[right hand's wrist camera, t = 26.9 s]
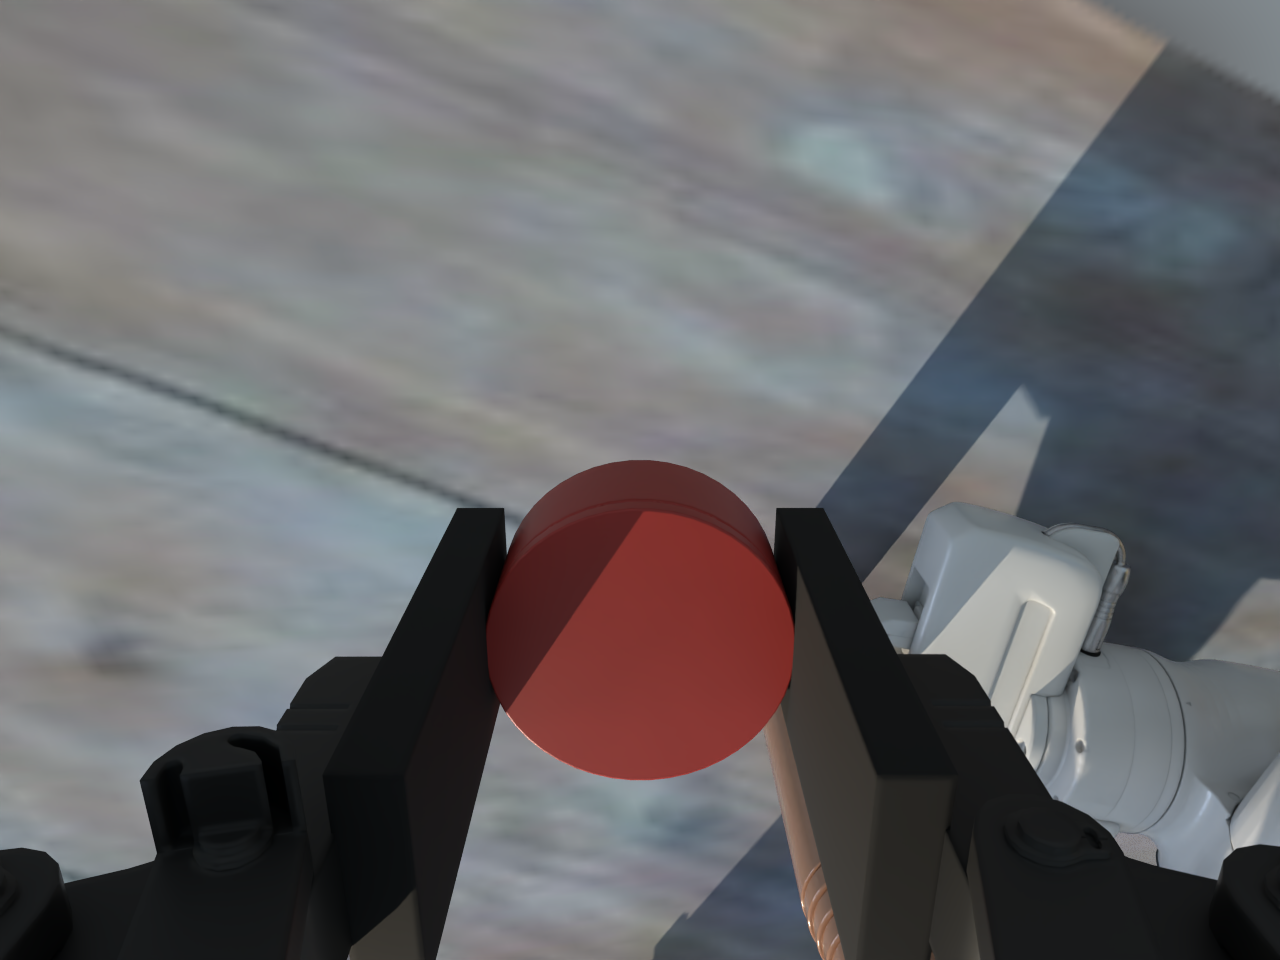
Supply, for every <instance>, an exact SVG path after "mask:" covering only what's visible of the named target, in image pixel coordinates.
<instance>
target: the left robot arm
mask: <svg viewBox="0 0 1280 960" xmlns="http://www.w3.org/2000/svg"><path fill="white" fill-rule="evenodd" d="M1115 555H1116V558H1115ZM1114 558H1115V559H1114ZM1125 561H1126V551H1125V547H1124V545H1123V543H1122V541H1121V540H1120V538H1119V537H1118V536H1117V535H1116V534H1115V533H1113V532H1111V531H1110V530H1108V529H1105V528H1101V527H1095V526H1089V525H1083V524H1077V523H1061V524H1057V525H1054V526H1052V527H1050V528H1046V527H1044V526H1041V525H1039V524H1036V523H1034V522H1031V521H1028V520H1025V519H1023V518H1019V517H1016V516H1013V515H1010V514H1007V513H1004V512H1000V511H996V510H993V509H989V508H985V507H981V506H977V505H972V504H968V503H962V502H952V503H949V504H947V505H945V506H943V507H940V508H938V509H936V510H934V511H932V512H931V513H929V515H928V517H927V519H926V522H925V525H924V528H923V531H922V535H921V538H920V541H919V544H918V547H917V551H916V554H915V557H914V560H913V563H912V566H911V570H910V573H909V576H908V579H907V582H906V585H905V589H904V592H903V595H902V598H901V600H896V599H889V598H883V597H879V598H876V599H873V600H870V601H871V603H872V605H873V607H874V609H875V611H876V613H877V615H878V617H879V619H880V621H881V623H882V625H883V627H884V629H885V631H886V633H887V635H888V637H889V639H890V641H891V643H892V645H893V647H894V649H895V651H896V653H897V654H946V655H947V656H949V657H950V658H951V659H953V660H954V661H956V662H957V663H958V664H960V665H961V666H962V667H964V668H965V669H966V670H968V671H969V672H970V673H972V674H973V675H974V676H975V677H976V678H977V680H978V681H979V683H980V685H981V686H982V688H983V689H984V691H985V693H986V694H987V696H988V697H989V699H990V700H991V706H994V707H995V708H996V710H997V712H998V713H999V715H1000V716H1001V718H1002V719H1003V721H1004V727H1005V728H1008V729H1009V730H1010V732H1011V734H1012V735H1013V737H1014V738H1015V740H1016V742H1017V743H1018V745H1019V746H1020V748H1021V749H1022V751H1023V753H1024V754H1025V756H1026V757H1027V759H1028V760H1029V762H1030V764H1031V765H1032V767H1033V768H1034V770H1035V772H1036V773H1037V775H1038V776H1039V778H1040V779H1041V781H1042V783H1043V784H1044V786H1045V787H1046V789H1047V791H1048V792H1049V794H1050V795H1051V797H1052V798H1053V799H1054V800H1058V801H1062V802H1064V803H1066V804H1068V805H1070V806H1072V807H1074V808H1076V809H1078V810H1080V811H1082V812H1084V813H1086V814H1088V815H1090V816H1091V817H1092V818H1093V819H1094V820H1096V821H1097V822H1098V823H1099V824H1100V825H1102V826H1103V827H1104V828H1105V829H1107V830H1108V831H1109V832H1110V833H1111V835H1112V836H1113V838H1115V837H1116V835H1117V834H1118V833H1119V832H1120V833H1127V834H1141V835H1145V836H1147V837H1148V838H1150V839H1151V840H1152V841H1153V842H1154V843H1155V845H1156V846H1157V848H1158V849H1157V851H1156V862H1157V866H1158V867H1163V868H1167V869H1172V870H1176V871H1180V872H1185V873H1189V874H1193V875H1198V876H1202V877H1206V878H1211V879H1215V880H1218V877H1219V874H1220V870H1221V867H1222V863H1223V860H1224V859H1225V858H1226V857H1227V856H1229V855H1230V854H1231V853H1232V852H1233V851H1234V850H1235V849H1236V848H1241V847H1246V846H1252V845H1257V844H1264V845H1272V846H1280V671H1276V670H1271V669H1266V668H1262V667H1256V666H1251V665H1246V664H1240V663H1234V662H1227V661H1221V660H1213V659H1201V660H1193V661H1187V662H1175V661H1171V660H1168V659H1166V658H1164V657H1162V656H1160V655H1158V654H1156V653H1154V652H1151V651H1148V650H1145V649H1142V648H1138V647H1131V646H1125V645H1119V644H1113V643H1107V642H1104V639H1105V637H1106V634H1107V632H1108V630H1109V627H1110V624H1111V621H1112V617H1113V614H1114V613H1113V612H1114V610H1115V606H1116V604H1117V601H1118V599H1119V597H1120V595H1121V594H1122V593H1123V592H1124V590H1125V588H1126V586H1127V583H1128V581H1129V577H1130V571H1131V567H1130V566H1129V565H1128V564H1126V563H1125Z"/></svg>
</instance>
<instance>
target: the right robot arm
mask: <svg viewBox="0 0 1280 960" xmlns="http://www.w3.org/2000/svg"><path fill="white" fill-rule="evenodd" d="M506 557H507V550H506V533H505V515H504V508H457V510H456V512H455V514H454V516H453V518H452V520H451V522H450V524H449V526H448V528H447V530H446V532H445V534H444V535H443V537H442V539H441V541H440V543H439V545H438V547H437V549H436V551H435V553H434V555H433V557H432V559H431V561H430V563H429V565H428V567H427V569H426V571H425V573H424V575H423V577H422V579H421V581H420V583H419V585H418V587H417V589H416V591H415V593H414V595H413V597H412V599H411V601H410V603H409V605H408V607H407V609H406V611H405V613H404V614H403V616H402V618H401V620H400V622H399V624H398V626H397V628H396V630H395V632H394V634H393V636H392V638H391V640H390V642H389V644H388V646H387V648H386V650H385V652H384V654H383V656H382V657H335V658H333V659H332V660H330V661H329V662H328V663H326V664H325V665H324V666H322V667H321V668H320V669H318V670H317V671H316V672H314V673H313V674H312V675H310V676H309V677H308V678H306V680H305V681H304V683H303V684H302V686H301V688H300V689H299V691H298V692H297V694H296V696H295V697H294V699H293V700H292V702H291V703H290V709H287V710H286V711H285V713H284V715H283V716H282V718H281V719H280V721H279V723H278V724H277V730H276V731H275V730H271V729H267V728H264V727H260V726H251V727H230V728H225V729H221V730H217V731H212V732H208V733H204V734H202V735H199V736H197V737H195V738H192V739H190V740H188V741H186V742H183V743H181V744H179V745H176V746H175V747H174V748H172V749H171V750H169V751H168V752H167V753H165V754H164V755H163V756H161V757H160V758H158V759H157V760H156V761H154V762H153V763H152V765H151V766H150V767H149V769H148V770H147V771H146V773H145V774H144V775H143V777H142V778H141V779H140V784H141V788H142V792H143V797H144V801H145V805H146V809H147V813H148V817H149V822H150V826H151V830H152V834H153V838H154V842H155V847H156V851H157V855H156V858H155V860H154V861H152V862H149V863H146V864H142V865H139V866H136V867H132V868H129V869H125V870H121V871H116V872H112V873H108V874H103V875H99V876H95V877H90V878H86V879H82V880H77V881H73V882H69V883H64V881H63V878H62V874H61V871H60V868H59V864H58V863H57V862H56V861H55V860H54V859H53V858H51V857H50V856H49V855H48V854H47V853H46V852H43V851H37V850H32V849H27V848H15V849H7V850H0V960H347V958H348V955H350V960H436V956H437V952H438V948H439V944H440V940H441V937H442V933H443V929H444V925H445V921H446V917H447V913H448V909H449V905H450V901H451V897H452V893H453V889H454V885H455V881H456V877H457V873H458V869H459V865H460V861H461V857H462V853H463V849H464V845H465V841H466V837H467V833H468V829H469V825H470V821H471V817H472V813H473V809H474V805H475V801H476V797H477V793H478V789H479V785H480V781H481V777H482V773H483V769H484V765H485V761H486V757H487V754H488V750H489V746H490V742H491V738H492V734H493V730H494V726H495V722H496V718H497V714H498V710H499V706H500V702H499V700H498V698H497V696H496V694H495V692H494V689H493V687H492V684H491V681H490V679H489V669H488V655H487V640H486V622H487V618H488V613H489V609H490V606H491V603H492V600H493V597H494V593H495V590H496V587H497V584H498V581H499V578H500V575H501V572H502V569H503V566H504V563H505V560H506ZM774 558H775V561H776V564H777V567H778V570H779V573H780V576H781V579H782V582H783V585H784V588H785V591H786V594H787V598H788V600H789V604H790V607H791V610H792V615H793V619H794V623H795V633H794V649H793V664H792V676H791V680H790V683H789V686H788V688H787V691H786V694H785V696H784V698H783V699H782V701H781V703H780V704H781V708H782V711H783V715H784V719H785V723H786V727H787V731H788V735H789V739H790V743H791V747H792V751H793V755H794V759H795V763H796V767H797V771H798V775H799V779H800V783H801V787H802V791H803V795H804V799H805V803H806V807H807V811H808V815H809V819H810V823H811V827H812V831H813V835H814V839H815V843H816V847H817V851H818V855H819V859H820V863H821V867H822V871H823V875H824V879H825V883H826V886H827V890H828V894H829V898H830V902H831V906H832V910H833V914H834V918H835V922H836V926H837V930H838V934H839V938H840V942H841V946H842V950H843V954H844V958H845V960H930V959H931V952H933V954H934V957H935V960H1280V846H1272V845H1264V844H1257V845H1252V846H1246V847H1241V848H1236V849H1235V850H1234V851H1233V852H1232V853H1231V854H1230V855H1229V856H1227V857H1226V858H1225V859H1224V860H1223V863H1222V867H1221V870H1220V874H1219V877H1218V880H1215V879H1211V878H1206V877H1202V876H1198V875H1193V874H1189V873H1185V872H1180V871H1176V870H1172V869H1167V868H1163V867H1158V866H1154V865H1151V864H1147V863H1144V862H1141V861H1137V860H1134V859H1131V858H1128V857H1126V856H1124V853H1123V851H1122V850H1121V848H1120V847H1119V845H1118V844H1117V842H1116V841H1115V839H1114V838H1113V836H1112V835H1111V833H1110V832H1109V831H1108V830H1107V829H1105V828H1104V827H1103V826H1102V825H1100V824H1099V823H1098V822H1097V821H1096V820H1094V819H1093V818H1092V817H1091V816H1090V815H1088V814H1086V813H1084V812H1082V811H1080V810H1078V809H1076V808H1074V807H1072V806H1070V805H1068V804H1066V803H1064V802H1062V801H1058V800H1054V799H1053V798H1052V797H1051V795H1050V794H1049V792H1048V791H1047V789H1046V787H1045V786H1044V784H1043V783H1042V781H1041V779H1040V778H1039V776H1038V775H1037V773H1036V772H1035V770H1034V768H1033V767H1032V765H1031V764H1030V762H1029V760H1028V759H1027V757H1026V756H1025V754H1024V753H1023V751H1022V749H1021V748H1020V746H1019V745H1018V743H1017V742H1016V740H1015V738H1014V737H1013V735H1012V734H1011V732H1010V730H1009V729H1008V728H1005V727H1004V721H1003V719H1002V718H1001V716H1000V715H999V713H998V712H997V710H996V708H995V707H994V706H991V700H990V699H989V697H988V696H987V694H986V693H985V691H984V689H983V688H982V686H981V685H980V683H979V681H978V680H977V678H976V677H975V676H974V675H973V674H972V673H970V672H969V671H968V670H966V669H965V668H964V667H962V666H961V665H960V664H958V663H957V662H956V661H954V660H953V659H951V658H950V657H949V656H947V655H946V654H897V653H896V651H895V649H894V647H893V645H892V643H891V641H890V639H889V637H888V635H887V633H886V631H885V629H884V627H883V625H882V623H881V621H880V619H879V617H878V615H877V613H876V611H875V609H874V607H873V605H872V603H871V601H870V599H869V597H868V596H867V594H866V592H865V590H864V588H863V586H862V584H861V582H860V580H859V578H858V576H857V574H856V572H855V570H854V568H853V566H852V564H851V562H850V560H849V558H848V556H847V554H846V552H845V550H844V548H843V546H842V544H841V542H840V540H839V538H838V536H837V534H836V532H835V530H834V528H833V526H832V524H831V522H830V520H829V519H828V517H827V515H826V513H825V511H824V509H823V508H776V526H775V543H774Z"/></svg>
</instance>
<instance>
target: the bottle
mask: <svg viewBox="0 0 1280 960" xmlns="http://www.w3.org/2000/svg"><path fill="white" fill-rule="evenodd" d="M763 731H764V735H765V740H766V744H767V749H768V754H769V758H770V763H771V767H772V772H773V777H774V781H775V786H776V790H777V795H778V799H779V804H780V809H781V813H782V818H783V822H784V827H785V832H786V836H787V841H788V845H789V850H790V855H791V859H792V864H793V868H794V873H795V878H796V882H797V887H798V891H799V896H800V901H801V905H802V909H803V912H804V915H805V917H806V919H807V923H808V927H809V930H810V933H811V935H812V937H813V939H814V941H815V942H816V944H817V948H818V951H819V954H820V956H821V958H822V959H823V960H845V958H844V954H843V950H842V946H841V942H840V938H839V934H838V930H837V926H836V922H835V918H834V914H833V910H832V906H831V902H830V898H829V894H828V890H827V886H826V883H825V879H824V875H823V871H822V867H821V863H820V859H819V855H818V851H817V847H816V843H815V839H814V835H813V831H812V827H811V823H810V819H809V815H808V811H807V807H806V803H805V799H804V795H803V791H802V787H801V783H800V779H799V775H798V771H797V767H796V763H795V759H794V755H793V751H792V747H791V743H790V739H789V735H788V731H787V727H786V723H785V719H784V715H783V711H782V708H781V704H780V705H779V707H778V709H777V710H776V712H775V713H774V715H773V716H772V717H771V719H770V720H769V721H768V723H767V724H766V725H765V726H764V727H763ZM930 960H935V957H934V954H933V952H931V959H930Z"/></svg>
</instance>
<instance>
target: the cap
mask: <svg viewBox="0 0 1280 960" xmlns="http://www.w3.org/2000/svg"><path fill="white" fill-rule="evenodd" d="M794 633H795V623H794V619H793V615H792V610H791V607H790V604H789V600H788V598H787V594H786V591H785V588H784V585H783V582H782V579H781V576H780V573H779V570H778V567H777V564H776V561H775V558H774V555H773V552H772V549H771V546H770V544H769V541H768V539H767V536H766V534H765V532H764V530H763V528H762V527H761V525H760V523H759V521H758V520H757V518H756V517H755V516H754V514H753V513H752V512H751V511H750V509H749V508H748V507H747V505H746V504H744V503H743V502H742V501H741V500H740V499H739V498H738V497H737V496H736V495H735V494H734V493H733V492H731V491H730V490H729V489H727V488H726V487H725V486H723V485H722V484H721V483H719V482H717V481H716V480H714V479H712V478H710V477H708V476H706V475H705V474H702V473H700V472H697V471H695V470H692V469H690V468H687V467H684V466H680V465H676V464H672V463H667V462H660V461H651V460H629V461H621V462H613V463H608V464H604V465H601V466H597V467H593V468H591V469H588V470H586V471H583V472H581V473H578V474H576V475H574V476H572V477H571V478H569V479H567V480H565V481H563V482H562V483H560V484H559V485H557V486H556V487H555V488H553V489H552V490H551V491H549V492H548V493H547V494H545V495H544V496H543V497H542V498H541V499H540V500H539V501H538V502H537V503H536V504H535V505H534V506H533V508H532V509H531V510H530V511H529V513H528V514H527V515H526V517H525V518H524V519H523V521H522V523H521V524H520V526H519V528H518V530H517V531H516V533H515V535H514V538H513V540H512V543H511V545H510V548H509V551H508V554H507V557H506V560H505V563H504V566H503V569H502V572H501V575H500V578H499V581H498V584H497V587H496V590H495V593H494V597H493V600H492V603H491V606H490V609H489V613H488V618H487V622H486V640H487V655H488V669H489V679H490V681H491V684H492V687H493V689H494V692H495V694H496V696H497V698H498V700H499V702H500V704H501V705H502V707H503V709H504V711H505V712H506V714H507V715H508V716H509V718H510V719H511V720H512V722H513V723H514V724H515V726H516V727H517V728H518V729H519V730H520V731H521V732H522V733H523V734H524V735H525V736H526V737H527V738H528V739H529V740H530V741H532V742H533V743H534V744H535V745H537V746H538V747H539V748H540V749H542V750H543V751H545V752H546V753H548V754H549V755H551V756H553V757H554V758H556V759H558V760H559V761H562V762H564V763H566V764H568V765H570V766H572V767H574V768H577V769H580V770H583V771H586V772H589V773H592V774H596V775H600V776H605V777H609V778H616V779H626V780H655V779H664V778H671V777H676V776H680V775H685V774H689V773H692V772H695V771H698V770H701V769H704V768H706V767H708V766H711V765H713V764H715V763H717V762H719V761H721V760H723V759H725V758H726V757H728V756H730V755H731V754H733V753H734V752H736V751H738V750H739V749H740V748H742V747H743V746H744V745H745V744H747V743H748V742H749V741H750V740H752V739H753V738H754V737H755V736H756V735H757V734H758V733H759V732H760V731H761V729H762V728H763V727H764V726H765V725H766V724H767V723H768V721H769V720H770V719H771V717H772V716H773V715H774V713H775V712H776V710H777V709H778V707H779V705H780V703H781V701H782V699H783V698H784V696H785V694H786V691H787V688H788V686H789V683H790V680H791V676H792V664H793V649H794Z"/></svg>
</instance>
